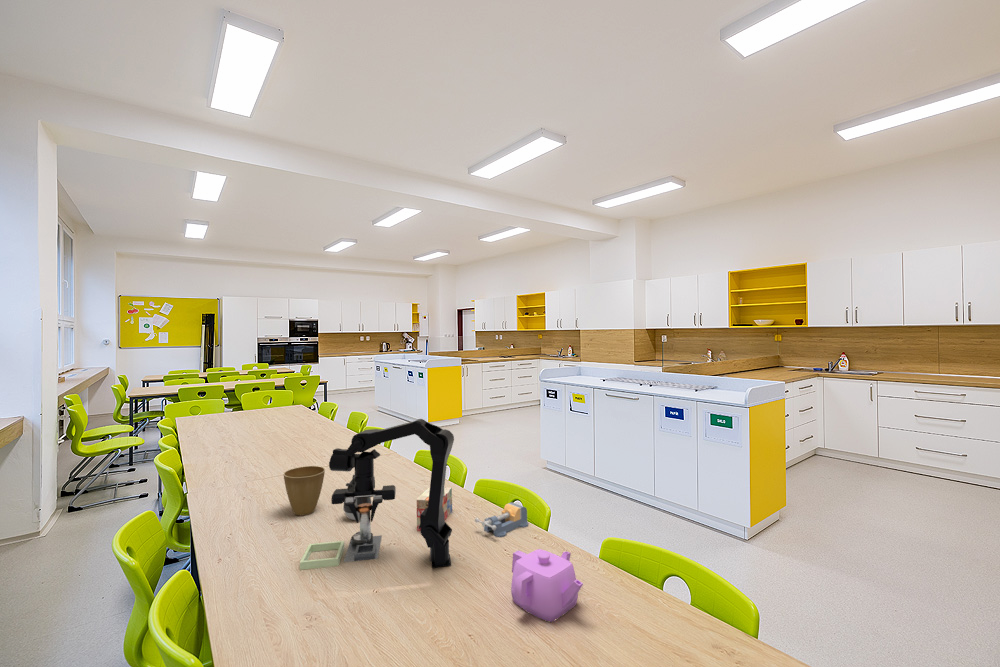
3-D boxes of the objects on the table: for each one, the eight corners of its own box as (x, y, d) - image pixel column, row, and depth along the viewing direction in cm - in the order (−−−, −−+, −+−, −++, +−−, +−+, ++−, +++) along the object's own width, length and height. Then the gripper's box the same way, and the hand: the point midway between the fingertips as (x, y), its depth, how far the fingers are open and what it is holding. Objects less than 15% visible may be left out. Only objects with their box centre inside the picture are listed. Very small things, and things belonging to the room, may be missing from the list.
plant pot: (290, 523, 164) (289, 479, 164) (279, 511, 176) (279, 470, 176) (330, 512, 174) (330, 471, 174) (318, 501, 185) (318, 463, 185)
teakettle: (510, 584, 122) (509, 539, 122) (572, 583, 122) (571, 538, 122) (512, 625, 105) (512, 573, 105) (584, 623, 105) (583, 571, 105)
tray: (338, 569, 131) (338, 558, 131) (300, 573, 130) (299, 562, 130) (344, 550, 143) (344, 540, 143) (309, 553, 141) (309, 544, 141)
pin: (372, 540, 137) (371, 507, 137) (357, 542, 136) (356, 509, 136) (373, 534, 141) (372, 502, 141) (359, 536, 140) (358, 503, 140)
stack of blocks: (437, 510, 175) (436, 478, 175) (452, 511, 174) (452, 479, 174) (416, 534, 154) (416, 498, 154) (433, 535, 153) (433, 500, 153)
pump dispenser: (337, 520, 167) (336, 479, 167) (357, 510, 176) (357, 471, 176) (357, 525, 162) (356, 483, 162) (377, 514, 171) (376, 475, 171)
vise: (511, 517, 167) (510, 499, 167) (531, 525, 160) (531, 507, 160) (474, 532, 155) (473, 513, 155) (493, 542, 147) (493, 522, 147)
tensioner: (377, 561, 135) (377, 547, 135) (343, 565, 133) (343, 550, 133) (381, 538, 151) (381, 525, 151) (351, 541, 149) (351, 528, 149)
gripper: (396, 462, 148) (396, 509, 148) (337, 466, 145) (337, 514, 145) (394, 472, 137) (395, 523, 137) (330, 477, 134) (331, 528, 134)
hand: (364, 521), depth 139 cm, fingers closed on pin, 4 cm apart
